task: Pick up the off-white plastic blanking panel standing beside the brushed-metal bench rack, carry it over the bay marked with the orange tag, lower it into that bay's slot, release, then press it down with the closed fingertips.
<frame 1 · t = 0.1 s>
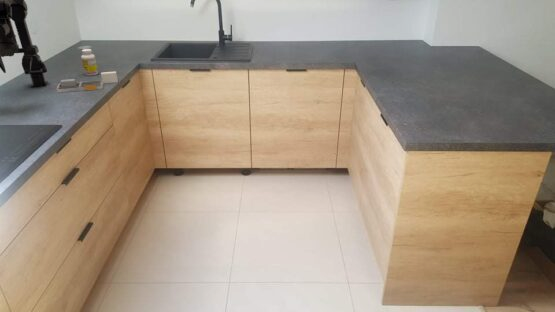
hand: (17, 71, 169), 15 cm above the table, fingers open, 9 cm apart
supplement bottle: (91, 74, 216), on the table
rack: (81, 88, 196), on the table
grey filler panel: (70, 89, 195), resting in rack
white panel: (110, 82, 205), on the table
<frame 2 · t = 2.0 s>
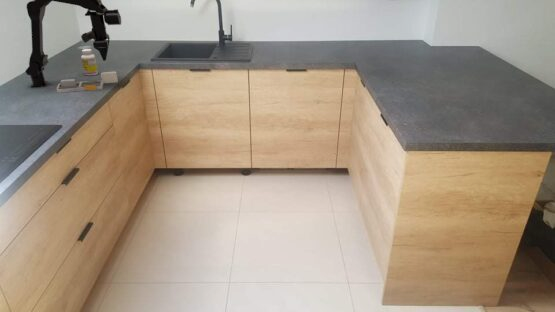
hand: (105, 58, 198), 12 cm above the table, fingers open, 9 cm apart
nothing on the table moved.
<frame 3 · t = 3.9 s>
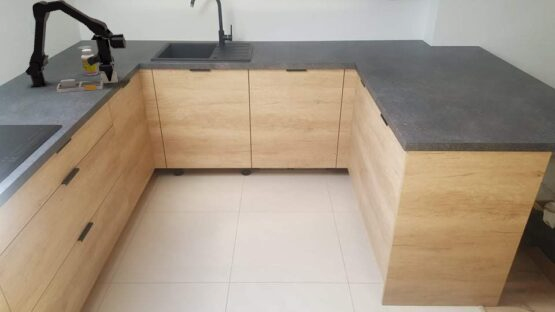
hand: (109, 80, 204), 1 cm above the table, fingers closed on white panel, 2 cm apart
white panel: (110, 82, 205), on the table, touching gripper
everything else where it was.
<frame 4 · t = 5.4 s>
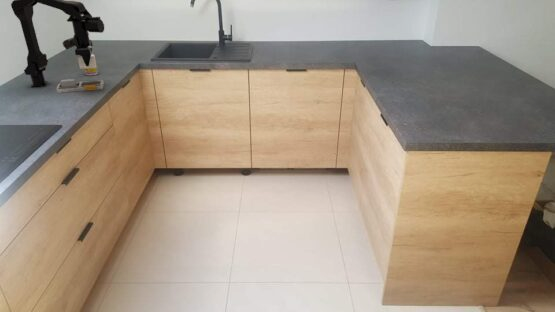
hand: (87, 65, 193), 11 cm above the table, fingers closed on white panel, 2 cm apart
white panel: (88, 67, 193), point 10 cm above the table, touching gripper
everything else where it was.
when the fingers open (2 cm above the table, at t = 6.8 s): white panel drops 1 cm, resting in rack.
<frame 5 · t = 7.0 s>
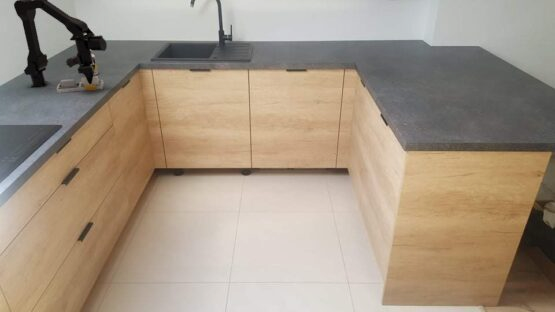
hand: (90, 82, 196), 2 cm above the table, fingers open, 4 cm apart
white panel: (91, 87, 197), resting in rack
everything else where it was.
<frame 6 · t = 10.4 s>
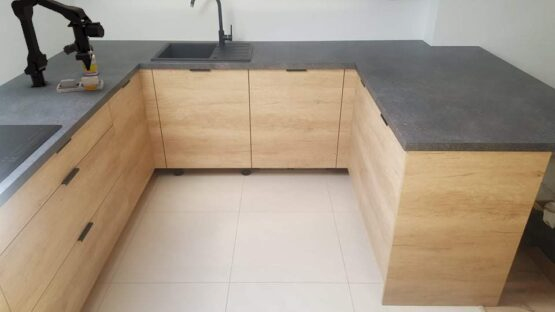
hand: (88, 70, 193), 8 cm above the table, fingers closed
nothing on the table moved.
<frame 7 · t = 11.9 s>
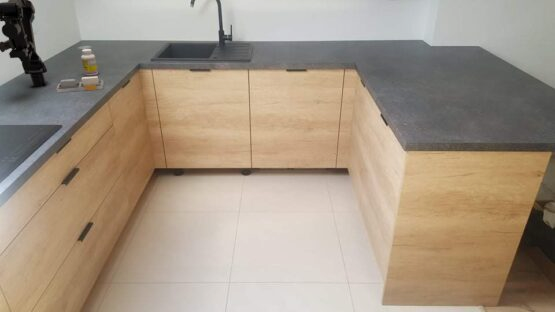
hand: (27, 68, 182), 12 cm above the table, fingers closed
nothing on the table moved.
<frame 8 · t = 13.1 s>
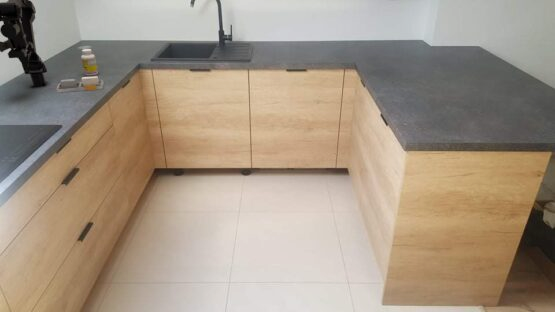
hand: (26, 68, 182), 12 cm above the table, fingers closed
nothing on the table moved.
at the end: white panel 0.1 cm from the target spot on the rack, point 0.0 cm above the rack's base; white panel tilted 0°; the gripper is holding nothing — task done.
